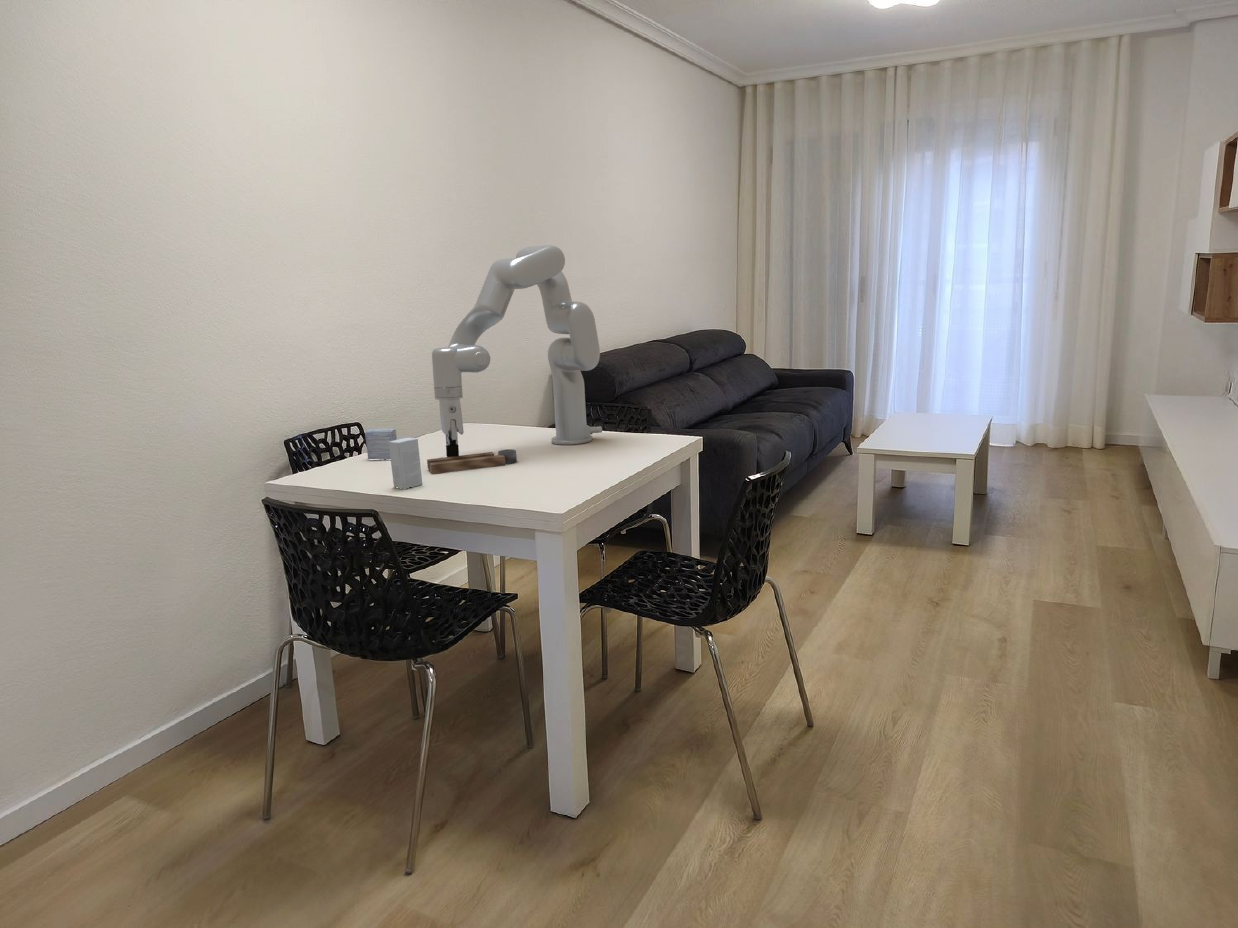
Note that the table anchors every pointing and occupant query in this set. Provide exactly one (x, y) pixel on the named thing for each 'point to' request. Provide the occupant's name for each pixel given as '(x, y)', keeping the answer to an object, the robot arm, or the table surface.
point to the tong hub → (475, 462)
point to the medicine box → (379, 443)
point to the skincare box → (405, 463)
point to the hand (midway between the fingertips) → (453, 458)
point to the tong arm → (458, 457)
